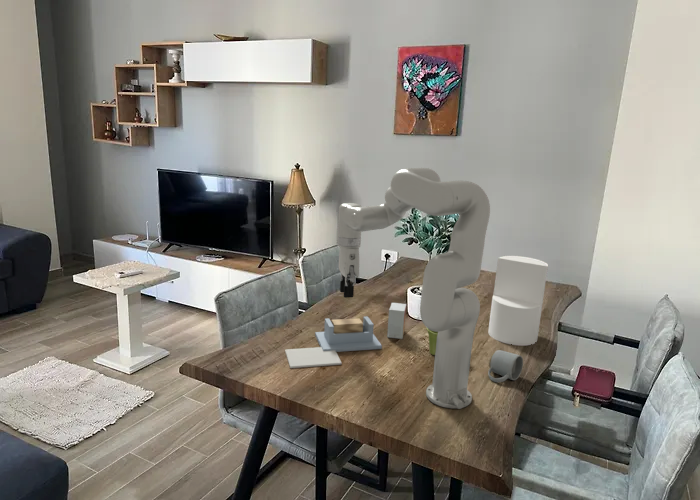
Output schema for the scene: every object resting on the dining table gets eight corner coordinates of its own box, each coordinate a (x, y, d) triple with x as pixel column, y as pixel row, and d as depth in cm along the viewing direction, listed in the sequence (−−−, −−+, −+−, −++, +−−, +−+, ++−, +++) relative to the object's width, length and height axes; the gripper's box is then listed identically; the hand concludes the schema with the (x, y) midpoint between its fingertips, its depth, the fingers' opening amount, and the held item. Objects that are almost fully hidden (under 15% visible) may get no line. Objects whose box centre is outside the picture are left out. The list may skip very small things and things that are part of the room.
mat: (341, 364, 160) (341, 362, 159) (290, 368, 156) (290, 366, 155) (333, 347, 171) (333, 346, 171) (285, 351, 167) (285, 349, 167)
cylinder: (495, 322, 200) (504, 253, 193) (541, 333, 192) (552, 261, 185) (482, 337, 185) (491, 262, 179) (531, 349, 177) (542, 272, 170)
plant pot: (431, 360, 165) (433, 335, 163) (420, 348, 174) (422, 324, 172) (457, 358, 168) (460, 333, 166) (445, 346, 177) (447, 322, 175)
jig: (369, 332, 185) (370, 312, 183) (381, 348, 172) (383, 327, 170) (315, 335, 180) (315, 315, 178) (323, 352, 167) (323, 331, 165)
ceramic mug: (497, 366, 163) (500, 344, 161) (522, 375, 158) (525, 352, 156) (480, 377, 156) (483, 354, 154) (505, 387, 151) (508, 364, 149)
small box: (402, 339, 180) (404, 311, 178) (386, 337, 181) (388, 309, 179) (404, 330, 188) (407, 303, 185) (389, 329, 189) (391, 302, 186)
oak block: (359, 327, 178) (359, 318, 178) (362, 332, 174) (363, 323, 173) (330, 329, 176) (331, 319, 175) (333, 334, 172) (334, 324, 171)
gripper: (367, 247, 160) (364, 302, 165) (353, 235, 176) (351, 286, 180) (344, 247, 158) (341, 303, 163) (332, 235, 174) (330, 287, 179)
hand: (346, 294), depth 172 cm, fingers open, 4 cm apart
